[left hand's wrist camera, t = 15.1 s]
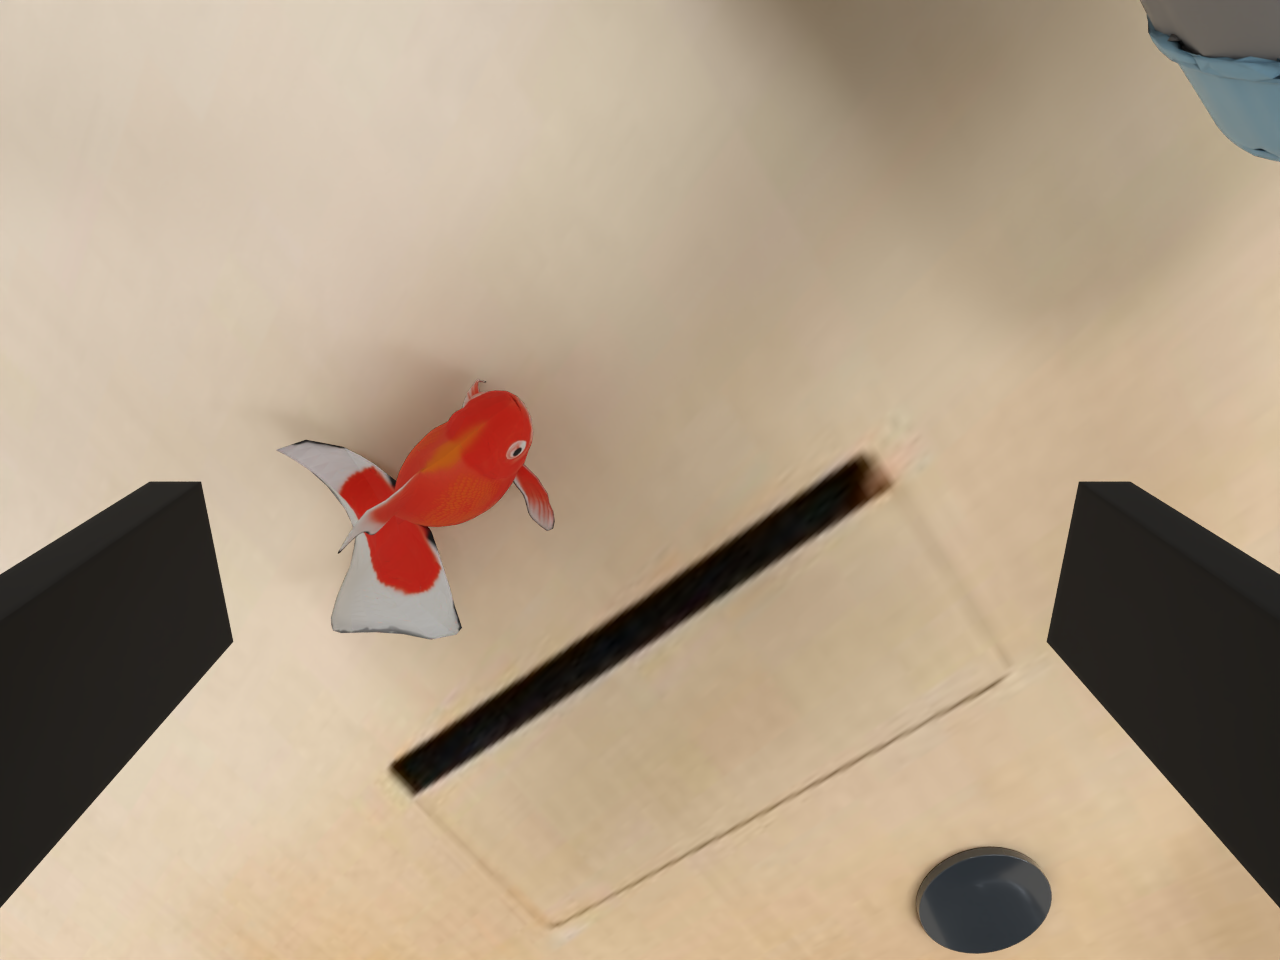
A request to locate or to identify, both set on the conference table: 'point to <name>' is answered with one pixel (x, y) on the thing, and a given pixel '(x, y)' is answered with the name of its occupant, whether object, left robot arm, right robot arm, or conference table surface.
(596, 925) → the conference table surface
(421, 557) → the fish
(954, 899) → the coaster
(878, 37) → the conference table surface
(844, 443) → the conference table surface
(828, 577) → the conference table surface
